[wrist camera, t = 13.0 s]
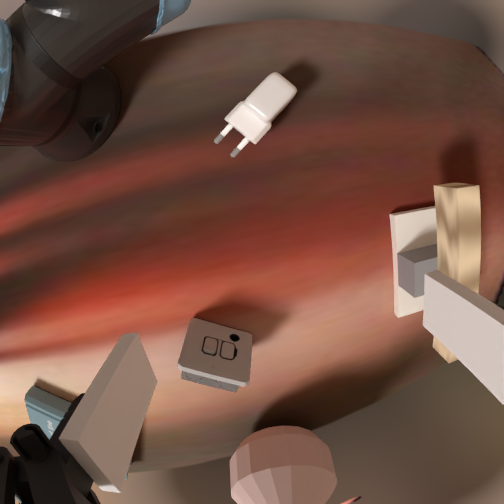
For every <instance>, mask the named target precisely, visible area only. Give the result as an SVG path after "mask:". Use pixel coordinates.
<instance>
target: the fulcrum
mask: <svg viewBox="0 0 504 504" xmlns="http://www.w3.org/2000/svg"><path fill="white" fill-rule="evenodd" d="M390 224H391V236H392V250H393V268H394V314H395V315H396V316H397V317H398V318H399V317H402V316H405V315H409V314H412V313H415V312H418V311H421V310H424V280H425V273H429V272H432V271H436V270H437V224H436V208H435V206H431V207H425V208H420V209H414V210H409V211H403V212H398V213H392V214H390Z"/></svg>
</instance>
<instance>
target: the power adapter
mask: <svg viewBox="0 0 504 504" xmlns="http://www.w3.org/2000/svg"><path fill="white" fill-rule="evenodd" d="M296 92H297V89H296V87H295V86H294V85H293V84H291V83H290V82H289V81H288V80H287V79H285V78H284V77H283V76H282V75H280V74H279V73H277V72H273V73H271V74H270V75H269V76H268V77H267V78H266V79H265V80H264V81H263V82H262V83H261V84H260V85H259V86H258V87H257V88H256V89H255V90H254V91H253V92H252V93H251V94H250V95H249V96H248V97H247V98H246V99H245V101H241V102H239V103H238V104H237V105H236V106H235V108H234V109H233V110H232V111H231V112H230V113H229V114H228V115H227V116H226V117H225V120H226V121H227V122H228V123H229V124H228V125H227V126H226V127H225V129H224V130H223V131H222V132H221V133H220V134H219V135H218V136H217V137H216V138H215V139H214V142H215V143H216V144H218V143H219V142H220V141H221V140H222V139H223V138H224V136H225V135H226V134H227V133H228V132H229V131H230V130H231V129H232V128H233V127H234V128H235V129H236V130H237V131H239V132H240V133H241V134H242V135H243V136H245V138H244V139H243V140H242V142H241V143H240V144H239V145H238V146H237V147H236V148H235V149H234V150H233V151H232V152H231V156H232V157H236V156H237V154H238V153H239V152H240V151H241V150H242V148H243V147H244V146H245V145H246V144H247V143H248V142H249V141H251V142H252V143H254V144H256V143H257V142H258V141H259V140H260V139H261V138H262V137H263V136H264V135H265V134H266V132H267V131H268V130H269V129H270V128H271V126H272V125H271V122H272V121H273V120H274V119H275V118H276V117H277V116H278V114H279V113H280V112H281V111H282V110H283V109H284V108H285V107H286V106H287V105H288V104H289V103H290V102H291V100H292V99H293V98H294V96H295V94H296Z"/></svg>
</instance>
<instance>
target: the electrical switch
mask: <svg viewBox="0 0 504 504" xmlns="http://www.w3.org/2000/svg"><path fill="white" fill-rule="evenodd" d="M252 338H253V336H252V335H251V334H250V333H248V332H244V331H241V330H237V329H233V328H229V327H226V326H222V325H218V324H215V323H211V322H208V321H204V320H201V319H197V318H193V319H191V320H190V323H189V326H188V329H187V333H186V337H185V340H184V344H183V347H182V351H181V354H180V358H179V360H178V364H177V366H178V369H179V370H181V371H182V375H181V376H182V377H181V379H185V380H188V381H192V382H195V383H199V384H203V385H207V386H211V387H215V388H219V389H223V390H227V391H232V392H236V391H237V389H238V387H239V386H246V385H247V384H248V383H249V380H250V367H251V353H252ZM204 377H205V378H204ZM217 381H218V382H217ZM228 388H229V389H228Z"/></svg>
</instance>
